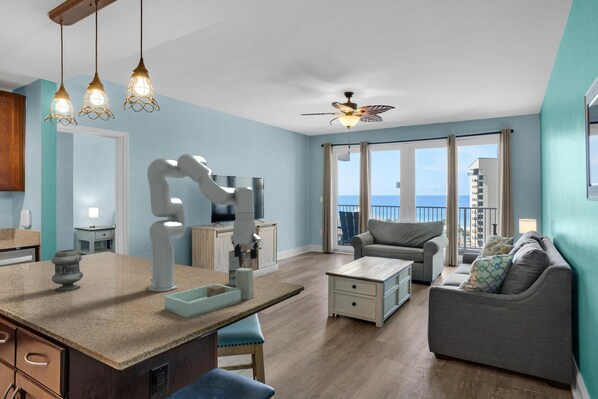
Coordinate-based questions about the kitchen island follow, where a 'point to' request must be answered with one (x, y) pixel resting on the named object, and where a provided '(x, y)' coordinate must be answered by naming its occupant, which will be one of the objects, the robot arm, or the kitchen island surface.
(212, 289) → the tan cube
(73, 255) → the apothecary jar
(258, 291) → the kitchen island surface
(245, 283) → the skincare box
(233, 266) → the coffee box
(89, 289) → the kitchen island surface
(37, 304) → the kitchen island surface
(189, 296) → the tote
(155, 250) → the robot arm
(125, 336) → the kitchen island surface
